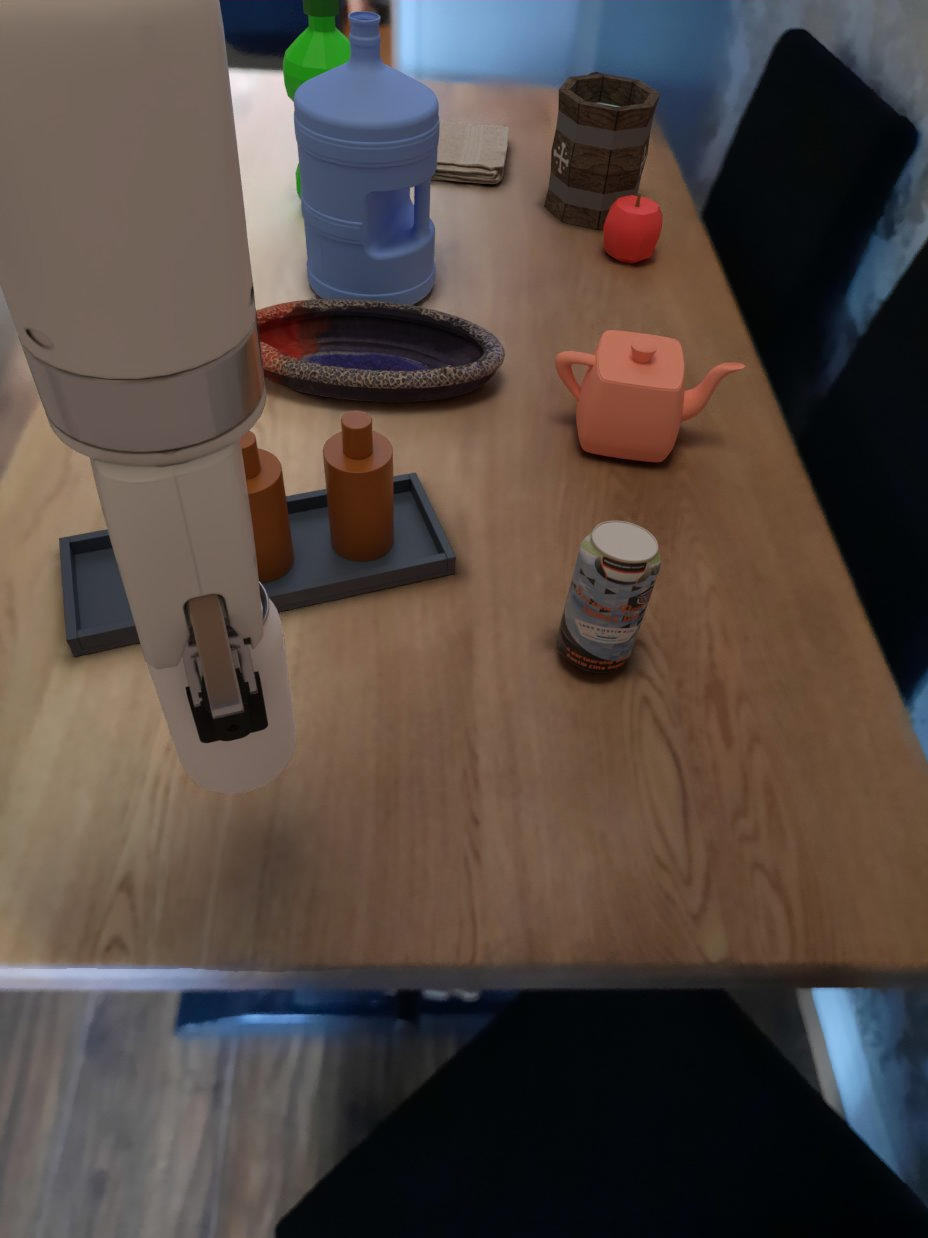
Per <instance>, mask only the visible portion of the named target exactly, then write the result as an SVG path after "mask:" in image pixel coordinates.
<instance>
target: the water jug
mask: <svg viewBox="0 0 928 1238" xmlns="http://www.w3.org/2000/svg"><path fill="white" fill-rule="evenodd" d="M347 19H348V21H349V26H350V27H349V28H350V31H349V34H348V39H349V41H350V51H351V55H350V59H349V61H348V62H346V63H344V64H342V65H340V66H338V67H336V68H333V69H331V70H329V71H327V72H325V73H322V74H320V75H318V76H316V77H314V78H311V79H309V80H307V81H306V82H304V83H303V84H302V85H301V86H300V87H299V88H298V89H297V90H296V92H295V95H294V102H293V110H294V111H293V126H294V135H295V136H294V137H295V141H296V143H297V144H296V145H297V156H298V163H299V169H300V180H301V200H300V206H301V213H302V218H303V224H304V236H305V248H306V258H307V259H306V274H307V281H308V283H309V285H310V288H311V289H312V290H313V292H314V293H315V294H316V295H317V296H318V297H319V298H320V299H356V300H371V301H383V302H391V303H399V304H405V305H411V306H414V305H415V304H417V303H419V302H420V301H422V300H423V299H425V298H426V297H427V296H428V295H429V294H430V292H431V291H432V289H433V288H434V285H435V280H436V261H435V251H436V249H435V247H436V246H435V245H436V227H435V223H434V221H433V220H432V219H431V217H430V215H431V214H430V213H431V181H432V180H431V177H432V176H433V174H434V173H435V171H436V168H437V150H438V143H439V128H440V115H439V110H440V104H439V98H438V97H437V95H436V93H435V92H434V91H433V89H431V88H430V87H429V86H428V85H426V84H424V83H423V82H421V81H419V80H417V79H415V78H413V77H411V76H409V75H407V74H406V73H404V72H401V71H400V70H398V69H395V68H394V67H391V66H390V65H388V64H386V63H384V62H383V60H382V57H381V43H382V37H381V34H380V23H381V15H379V14H378V13H377V12H373V11H365V10H359V11H353V12H352V11H351V12H350V13H349V14H348V15H347ZM411 188H413V192H414V193H413V198H414V199H413V201H412V199H411Z"/></svg>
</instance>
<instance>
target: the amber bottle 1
mask: <svg viewBox="0 0 928 1238" xmlns="http://www.w3.org/2000/svg"><path fill="white" fill-rule="evenodd" d="M240 443H241V449H242V456H243V463H244V469H245V476H246V484H247V491H248V498H249V505H250V512H251V519H252V526H253V534H254V543H255V551H256V559H257V568H258V578H259V581H260V582H261V583H265V582H270V581H273V580H276V579H278V578H280V577H282V576H283V575H284V574H286V573H287V572H288V571H289V569H290V568H291V566H292V564H293V562H294V552H293V545H292V538H291V530H290V523H289V516H288V509H287V501H286V496H287V494H286V487H285V479H284V474H283V465H282V463H281V461H280V460H279V458H278V457H277V456H276V455H275V454H274V453H273V452H270V451H268V450H267V449H263V448H259V447H258V442H257V437H256V435H255V433H254V432H253V431H251V430H249V431H248V432H247V433H246V434H245V435H244V436H243V437H241V438H240Z"/></svg>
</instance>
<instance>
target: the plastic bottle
mask: <svg viewBox="0 0 928 1238" xmlns="http://www.w3.org/2000/svg"><path fill="white" fill-rule="evenodd" d="M302 8H303V14H305V15H307V16H308V17H307V18H308V26H307V27H306V28H305V29H304V30H303V31H302V32H301V33H300V34H299V35H298V36H297V37H296V38H295V39H294V41H293V42H292V43H291V44H290V45H289V46H288V47H287V48H286V49H285V51H284V56H283V60H282V69H283V71H282V73H283V74H282V75H283V81H284V82H283V83H284V84H283V85H284V87H285V92H286V95H287V97H288V98H289V99H290V100H291V101H292V102H293V103H294V95H295V92H296V90H297V89H298V88H299V87H300V86H301V85H302V84H303V83H304V82H306V81H307V80H309V79H311V78H314V77H316V76H318V75H320V74H322V73H325V72H327V71H329V70H331V69H333V68H336V67H338V66H340V65H342V64H344V63H346V62H348V61H349V59H350V55H351V51H350V41H349V37H347V36H346V35H345V34H344V33H343V32H341V30H339V29H338V28H337V27H336V16H337V15H339V14H340V3H339V0H302ZM295 185H296V193H297V195H298V197H299V200H300V201H301V180H300V169H299V162H298V164H297V167H296V169H295Z"/></svg>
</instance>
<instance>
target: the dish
mask: <svg viewBox="0 0 928 1238" xmlns="http://www.w3.org/2000/svg"><path fill="white" fill-rule="evenodd" d="M256 311H257V320H258V328H259V337H260V346H261V354H262V363H263V372H264V379H267V380H268V381H270V382H272V383H274V384H276V385H279V386H281V387H283V388H286V389H288V390H291V391H295V392H299V393H303V394H308V395H314V396H319V397H325V398H333V399H341V400H349V401H350V400H351V401H360V402H361V401H362V402H375V403H376V402H377V403H380V402H383V403H411V402H426V401H427V402H429V401H436V400H443V399H449V398H453V397H457V396H463V395H465V394H468V393H470V392H473V391H475V390H477V389H478V388H480V387H482V386H483V385H485V384H486V383H488V382H489V381H490V380H491V379H492V378H493V377H494V376H495V374H496V373H497V371H498V369H500V367H501V366H502V365H503V364H504V360H505V358H506V357H505V356H506V352H505V351H506V350H505V348H504V346H503V343H501V341H500V340H499V339H498V338H497V337H496V336H495V335H494V333H492V332H490V331H489V330H487V329H486V328H484V327H482V326H480V325H478V324H476V323H474V322H472V321H470V320H467V319H465V318H462V317H459V316H456V315H454V314H450V313H447V312H443V311H438V310H435V309H430V308H427V307H421V306H416V305H405V304H399V303H391V302H383V301H371V300H356V299H322V298H314V299H313V298H311V299H302V300H293V301H287V302H283V303H277V304H274V305H269V306H267V307H263V308H260V309H256Z"/></svg>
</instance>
